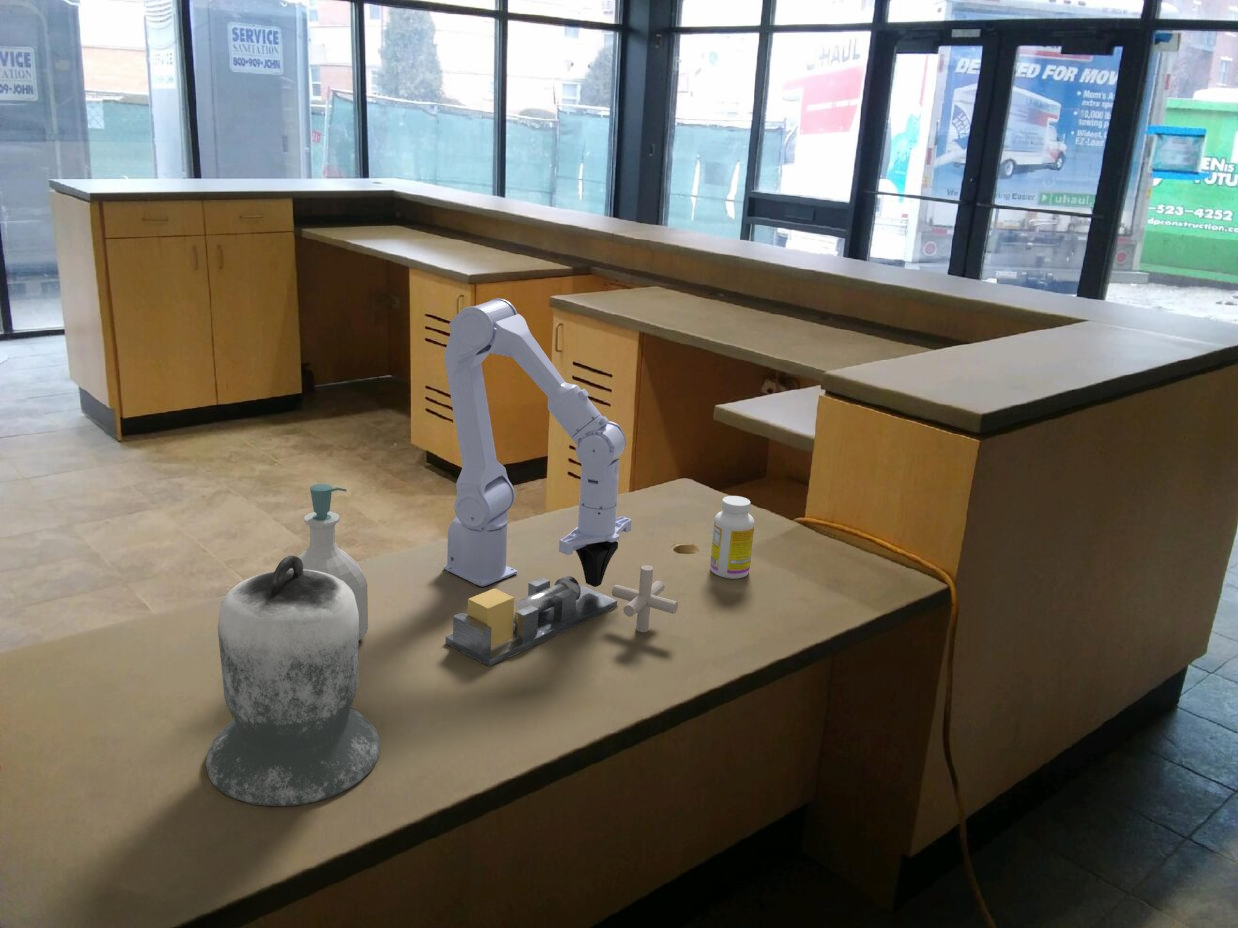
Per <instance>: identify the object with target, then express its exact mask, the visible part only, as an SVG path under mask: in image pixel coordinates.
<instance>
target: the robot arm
mask: <svg viewBox="0 0 1238 928" xmlns="http://www.w3.org/2000/svg"><path fill="white" fill-rule="evenodd" d="M449 330H450V334H449V337H448V340H447V344H446V347H445V351H444V355H443V357H444V364H445V371H446V377H447V383H448V387H449V388H448V389H449V394H450V399H451V406H452V411H453V417H454V423H455V424H454V425H455V428H456V429H455V431H456V435H457V442H458V447H459V453H460V458H461V459H460V460H461V463H462V468H461V471H460V474H459V476H458V478H457V480H456V483H455V488H456V498H455V500H454V513H455V515H456V516H455V517H454V519H452V521H451V523H449V527H448V530H447V564H445V565H443V570H445V571H447V572H448V573H452V574H453V575H455V576H458V577H459V578H462V579H464V580H466V581H468V582H470V583H473V584H475V585H477V586H479V587H486V586H488V585H491V584H494V583H496V582H499V581H501V580H503V579H507V578H509V577H511V576H513V575H517V574H518V570H517V569H515V568H513V567H511V566H508V565H507V550H508V549H507V547H508V512H509V511H508V510H510V509H511V508H512V506H513V505H514V503H515V501H516V491H515V488H514V486H513V484H512V483H511V481H510V480H509V478H508V477H509V476H508V474H507V470H506V469H507V468H506V467H505V466H504V465H503V464H502V463H500V462H499V461H498V459H497V458H498V457H497V452H496V447H495V440H494V434H493V427H492V422H491V415H490V409H489V403H488V397H487V390H486V385H485V377H484V372H483V371H484V370H483V367H482V363H483V362H484V360H485V359H486V358H487V357H488V356H489V355H490V354H492V355H499V356H504V357H509V358H512V359H513V360H514V361H515V362H516V363H517V364H518V365H519V367H520V368H521V369H522V370H523V371H524V372H525V373H526V374H527V375H528V376H529V378H531V380H532V381H533V383H535V384H536V386H538V388H539V389H540V390H541V391H542V392H543V393H544V395H546V397H547V409H548V411H549V412H550V413H551V416H553V418H554V419H556V422H558V424H559V425H560V426H561V428H562V429H563V430H564V431H565V433H566V434H567V436H568V437H570V439H571V440H572V441H573V443H574V444H576V445H577V446H576V447H575V453H576V457H577V459H578V461H579V462H580V464H581V469H580V470H581V471H580V485H579V486H580V487H579V500H578V501H579V502H578V503H579V504H578V520H577V521H578V523H577V526H576V527H575V528H574V529H573V530H572V531H571V532H570V533H568V534H567V535H566V536H564V537H563V538H561V539H559V540H558V541H559V542H558V552H559V553H562V554H564V555H567V556H571V555H572V554H573V552H574V551H575V552H576V554H577V556H578V558H579V560H580V563H581V567H582V569H583V570H582V571H583V574H584V580H585V584H587V585H588V586H591V587H594V588H597V587H599V586H601V585H602V582H603V580H604V577H605V574H606V571H607V568H608V565H609V563H610V561H611V560H612V557H613V556H614V554H615V553H616V552H617V550H618V549H619V542H618V541H619V540H620V533H623V532H624V533H628V532H631V531H632V522H633V521H632V519H631V518H628V517H625V516H623V515H622V516H619V517H617V508H618V494H619V480H620V479H619V478H620V477H619V476H620V474H619V473H620V472H619V471H620V461H621V460H620V458H619V457H620V456H621V455H622V454H623V453H624V452H625V449H626V446H627V439H626V438H627V437H626V435H625V433H624V430H623V429H622V427H621V426H620V425H619V424H618V423H616V422H614V421H610V420H609V419H608V417H607V416H606V415H605V416H603V415H602V413H601V412H600V411H599V410H598V408H597V407H596V406H595V405H594V403H592V401H591V400H590V399H589V397H590V393H589V392H588V391H587V390H586V388H583V389H581V387H580V386H579V385H578V384H573V383H570V382H569V383H568V382H566V381H565V379H564V378H563V376H561V374H560V372H559V371H558V370H557V368H556V367H555V365H554V364H553V363H552V362H551V360H550V359H549V357H548V356H547V355H546V352H544V350H543V349H542V348H541V346H540V344H539V343H538V342H537V340H536V338H534V335H532V333H531V331H530V328H529V326H528V324H527V321H526V319H525V318H524V316H522V315H521V314H520V313H518V312H517V309H516V308H515V306H514V305H513V304H512V302H510V301H508V300H506V299H503V298H498V297H497V298H493V299H491V300H488V301H486V302H483V303H480V304H476V305H474V306H468V307H465V308H463V309H462V310H460V311H459V312H458V313H457V314H456V315H455V317H454V318H453V319H452V320H451V321H450V322H449Z"/></svg>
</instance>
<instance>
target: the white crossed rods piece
mask: <svg viewBox="0 0 1238 928" xmlns="http://www.w3.org/2000/svg"><path fill="white" fill-rule="evenodd" d="M653 575H654V567H653V566H652V565H649V564H648V565H647V564H644V565H641V566H640V573H639V585H638V590H637V589H633V588H630V587H627V586H623V585H619V584H614V585H613V587H612V590H611V596H612V597H614V598H618V599H621V600H624V601H628V603H627V604H626V605H624V606H623V607H622V608H623V609H622V610H623V614H624V615H625V616H626V617H628V618H631V617H633V616H635V614H636V615H637V616H636V625H635V627H636V628H635V630H636V631H637V632H639V633H647V632H648V631H649V627H650V612H651V608H652V609H655V610H659V611H663V612H666V613H669V614H673V615H674V614H676V613H677V610H678V607H679V603H678V601H676V600H672V599H668V598H665V597H662V596H658V595H660V594H661V593H662V592H663V591H664V590H665V584H664V583H663V581H661V580H656V581H654V582H653V579H654V578H653V577H654V576H653Z"/></svg>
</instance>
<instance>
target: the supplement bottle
mask: <svg viewBox="0 0 1238 928" xmlns="http://www.w3.org/2000/svg"><path fill="white" fill-rule="evenodd" d="M721 508H722V510H721V511H719V512H717V514H716V515H715V516H714V520H713V521H714V522H713V531H712V532H713V533H712V544H711V554H710V567H709V568H710V571H711V572H712V573H713V574H714V575H716V576H719V577H721V578H725V579H731V580H735V579H742V578H745V577H746V576H747V575H749V573H750V570H751V559H752V551H753V543H754V541H753V540H754V532H755V519H754V517H753V516H752V515H751V513H749V511H750V510H751V501H750V499H749V498H746V497H743V496H739V495H728V496H724V497H723V498H722V499H721Z"/></svg>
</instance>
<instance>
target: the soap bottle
mask: <svg viewBox="0 0 1238 928" xmlns="http://www.w3.org/2000/svg"><path fill="white" fill-rule="evenodd" d="M309 490H310V496H311V502H312V507H313V508H312V510H313V511H312V512H309V513H307V514H305V516H304V517H303V518H304V519H303V521H304V523H305V524H306V525H307V526H309V545H308V548H307V549H305V551H304V552H302V553H301V554H299V556H297V557H298V558H300V559H301V560H302V563H303V570H313V571H319V572H324V573H327V574H330V575H333V576H335V577H337V578H338V579H340V580H342V581H344V582H345V583H346V584H347V585H348V586H349V587H350V589H351V590H352V591H353V593H354V595H355V600H356V604H357V609H358V613H359V639H358V641H360V640H361V639H363V638H364V637H365V636H366V635H367V633H368V631H369V630H368V628H369V617H368V616H369V612H368V611H369V609H368V607H369V605H368V599H369V598H368V582H367V579H366V577H365V574H364V572H363V570H362V569H361V566H360V565H359V564H358V562H357V561H356V560H355V559H354V558H353V557H351V556H350V555H349V554H348V553H347V552H345V551H344V550H342V549H341V548H339V546H338V545H337V543H336V531H335V530H336V529H335V527H336V524H338V523H339V522H340V515H339V514H338V512H333V511H331V502H332V495H333V494H332V493H333V492H336V491H341V492H347V489H346V488H342V487H338V486H336V487H333V486H332V485H331V484H329V483H315V484H312V485H311V486H310V487H309ZM291 569H292V568H291ZM291 569H289V570H291Z"/></svg>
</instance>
